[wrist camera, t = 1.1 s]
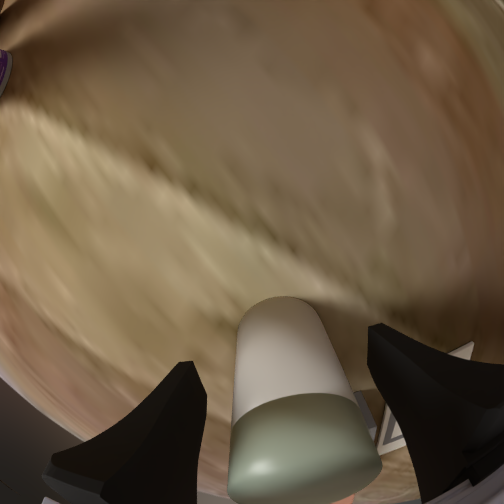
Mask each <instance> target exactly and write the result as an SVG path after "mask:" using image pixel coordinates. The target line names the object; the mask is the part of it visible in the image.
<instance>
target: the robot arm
mask: <svg viewBox="0 0 504 504" xmlns="http://www.w3.org/2000/svg"><path fill="white" fill-rule="evenodd" d="M367 365H368V368H369V370H370V373H371V375H372V378H373V380H374V382H375V384H376V386H377V388H378V390H379V391H380V393H381V395H382V397H383V398H384V400H385V402H386V403H387V405H388V407H389V409H390V410H391V412H392V414H393V416H394V417H395V419H396V421H397V423H398V425H399V427H400V429H401V432H402V435H403V437H404V440H405V442H406V445H407V448H408V451H409V454H410V457H411V460H412V463H413V467H414V470H415V474H416V477H417V482H418V486H419V491H420V496H421V501H422V504H504V365H503V364H490V363H482V362H477V361H472V360H467V359H463V358H459V357H456V356H453V355H449V354H446V353H444V352H441V351H438V350H436V349H434V348H431V347H429V346H426V345H424V344H422V343H420V342H418V341H416V340H414V339H412V338H410V337H408V336H406V335H404V334H402V333H400V332H398V331H396V330H395V329H393V328H391V327H389V326H387V325H385V324H383V323H379V324H376V325H373V326H369V327H368V355H367ZM206 412H207V394H206V391H205V389H204V387H203V384H202V382H201V380H200V377H199V375H198V373H197V370H196V368H195V365H194V363H193V361H185V362H179V363H178V364H177V365H176V366H175V367H174V368H173V369H172V370H171V371H170V372H169V374H168V375H167V376H166V377H165V378H164V379H163V380H162V381H161V383H160V384H159V385H158V386H157V387H156V388H155V389H154V390H153V391H152V392H151V393H150V394H149V395H148V396H147V397H146V398H145V399H144V400H143V401H142V402H141V403H140V404H139V405H138V406H137V407H136V408H135V409H134V410H133V411H132V412H130V413H129V414H128V415H127V416H125V417H124V418H123V419H122V420H120V421H119V422H118V423H116V424H115V425H113V426H112V427H110V428H109V429H107V430H106V431H104V432H102V433H101V434H99V435H97V436H96V437H94V438H92V439H90V440H88V441H86V442H84V443H82V444H80V445H77V446H75V447H72V448H69V449H66V450H64V451H61V452H58V453H54V454H53V455H52V457H51V459H50V461H49V462H48V465H47V466H46V468H45V470H44V473H43V474H42V478H43V480H44V481H45V482H46V484H47V485H48V486H50V487H51V488H52V489H53V490H54V491H56V492H57V493H58V494H59V495H61V496H62V497H63V498H65V499H66V500H68V501H69V502H70V503H72V504H197V468H198V459H199V453H200V447H201V442H202V437H203V431H204V426H205V420H206ZM42 504H60V503H58V502H56V501H54V500H52V499H50V498H48V497H45V498H44V500H43V502H42Z"/></svg>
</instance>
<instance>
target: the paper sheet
mask: <svg viewBox="0 0 504 504" xmlns="http://www.w3.org/2000/svg"><path fill="white" fill-rule="evenodd" d="M473 347H474V342H473V341H471V342H469V343H468V344H466V345H464V346H462V347H460V348H458V349H456V350H454V351H452V352H450V353H447V354H449V355H453V356H456V357H459V358H463V359H467V360H470V357H471V354H472V350H473ZM405 445H406V442H405V440H404V437H403V435H402V432H401V429H400V427H399V425H398V423H397V421H396V419H395V417H394V416H393V414H392V412H391V410H390V409H389V407H388V405H387V403H386V404H385V409H384V415H383V419H382V424H381V429H380V433H379V437H378V442H377V446H376V449H377V451H378V454H379V455H382V454H385V453H388V452H390V451H393V450H396V449H398V448H400V447H403V446H405Z"/></svg>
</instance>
